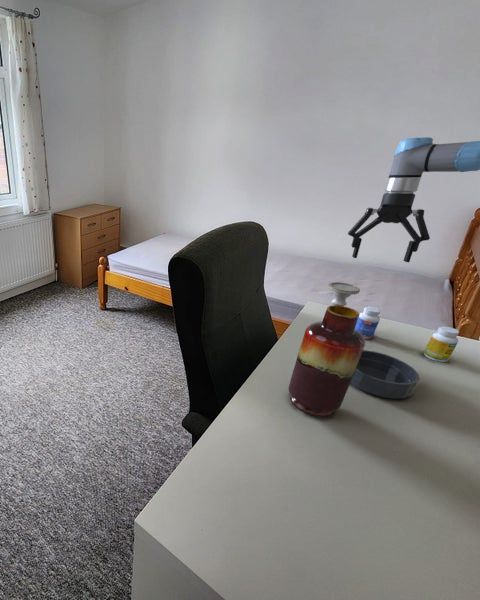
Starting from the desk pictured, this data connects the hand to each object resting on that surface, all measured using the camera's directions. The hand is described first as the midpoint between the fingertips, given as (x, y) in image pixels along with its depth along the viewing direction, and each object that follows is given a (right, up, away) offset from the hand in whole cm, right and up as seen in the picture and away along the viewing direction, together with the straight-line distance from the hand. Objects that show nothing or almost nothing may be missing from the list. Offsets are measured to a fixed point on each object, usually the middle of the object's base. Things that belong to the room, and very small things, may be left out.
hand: (379, 259), depth 113 cm
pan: (-20, -36, -21) cm, 46 cm away
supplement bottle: (+6, -31, -12) cm, 34 cm away
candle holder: (-22, -28, -4) cm, 36 cm away
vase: (-42, -40, -28) cm, 65 cm away
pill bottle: (-5, -25, 0) cm, 26 cm away
